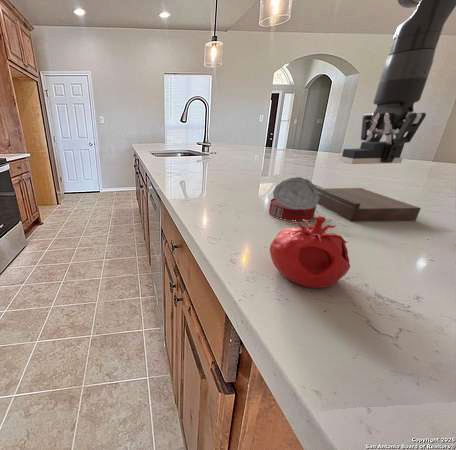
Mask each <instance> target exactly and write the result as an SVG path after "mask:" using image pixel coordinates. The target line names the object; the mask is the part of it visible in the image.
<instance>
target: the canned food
mask: <svg viewBox="0 0 456 450" xmlns="http://www.w3.org/2000/svg"><path fill="white" fill-rule="evenodd" d="M314 185H315V184H314V183H313V182H312V181H311V180H309V179H307V178H303V177H297V176H296V177H290V178H287V179H285V180H281V182H279V183H278V184H277V185H276V186H275V188H274V189H273V191H272V194H273V198H271V199H270V203H269V208H268V214H269V213H270V214H271V215H270V214H269V215H270V216H272V215H273V216H275V217H274V218H276V217H278V218H277V219H279V218H282V219H286V220H285V221H287V220H294V221H293V222H296V221H303V219H304V220H310V221H312V220H313V219H314V218H313V217H315V212H316V209H317V205H319V204H318V201H319V194H318V191H317V189H316V188H315V186H314ZM273 216H272V217H273ZM282 219H281V220H282ZM311 219H312V220H311ZM295 220H296V221H295Z"/></svg>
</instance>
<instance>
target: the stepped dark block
mask: <svg viewBox="0 0 456 450" xmlns="http://www.w3.org/2000/svg"><path fill="white" fill-rule="evenodd" d="M405 144H406V143H403V144H401V145H399V147H398V150H397V153H396V155H395V158H394V160H393V161H392V162H391V163H390V164H401V163H402V161H403V157H401V155H402V152H403V150H404V147H405ZM385 146H388V145H386V141H385V140H384V141H379V142H366V141H362V142H361V144H360V147H359V148H343V151H342V154H341V156H339V160H338V162H340V163H344V164H350V165H375V164H378V165H379V164H384V163H383V162H381V161H380V160H381V157H382V154H383V150H384V147H385Z"/></svg>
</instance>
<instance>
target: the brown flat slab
mask: <svg viewBox="0 0 456 450" xmlns="http://www.w3.org/2000/svg"><path fill="white" fill-rule="evenodd" d="M314 186H315V188H316V189H317V191H318V194H319V201H318V204H317V205H319V204H320V205H319V206H321V205H322V206H321V207H323V208H325V209H326V210H328V211H330V210H331V211H330V212H332V211H333V212H332V213H334V212H335V213H334V214H336V213H337V214H336V215H338V216H340V217H342V218H344V219H345V218H346V220H347V219H348V220H347V221H349V220H350V221H349V222H416V221H417V218H418V216H419V214H420V211H421V209H422V208H421V207H419V206H416V205H413V204H410V203H407V202H404V201H401V200H398V199H395V198H392V197H389V196H386V195H383V194H380V193H377V192H375V191H371V190H369V189H365V188H362V187H340V188H339V187H337V188H332V187H331V188H329V187H328V188H324V187H322V186H319V185H317V184H314Z"/></svg>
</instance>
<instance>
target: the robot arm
mask: <svg viewBox="0 0 456 450" xmlns="http://www.w3.org/2000/svg"><path fill="white" fill-rule="evenodd" d="M396 1H397V4H399V6H400V7H402V8H405V9H413V8H416V9H415V10H414V11H413V13H412V14H411V15H410V16H409V17H408V18H407V19H405V20H404V21H403V22H401V23H400V24H399V25H398V26H397V28H396V30H395V32H394V34H393V38H392V41H391V44H390V48H389V52H388V54H387V57H386V60H385V63H384V65H383V68H382V71H381V74H380V78H379V82H378V84H377V88H376V91H375V95H374V99H373V105H376V108H375V110H374V111H373V113H371V114H365V115H363V116H362V123H361V132H360V140H361V141H364V142H381V139H382V138H383V136H386V138H385V140H386V145H388V146H385V147H384V150H383V154H382V157H381V160H380V161H381V162H383V163H382V164H392V163H391V162H392V161H393V160H394V158H395V155H396V153H397V150H398V147H399V145H401V144H403V143H405V144H407V143H410V142H411V141H412V139H413V138H414V136H415V135H416V133H417V131H418V129H419V128H420V126H421V125H422V123H423V121H425V118H426V116H427V115H426V114H427V113H426V112H416V111H414V106H415V103H418V102H419V101H420V100H421V98H422V95H423V93H424V89H425V86H426V83H427V81H428V78H429V75H430V73H431V69H432V66H433V63H434V60H435V54H436V49H437V46H438V44H439V41H440V39H441V36H442V32H443V29H444V26H445V24H446V22H447V21H448V19H449V17H450V16H451V15H452V13H453V11H454V10H455V9H456V0H396ZM368 133H369V134H368ZM394 136H395V137H394Z"/></svg>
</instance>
